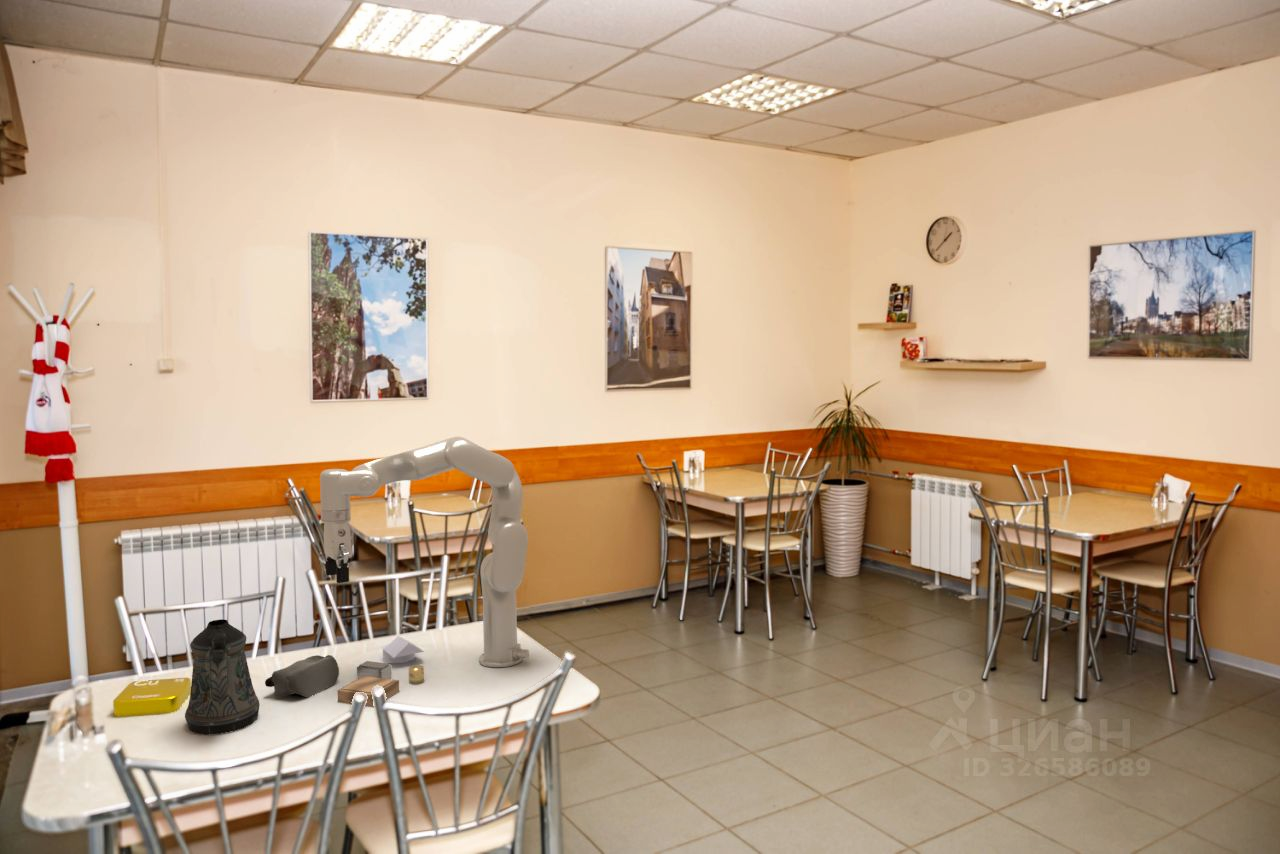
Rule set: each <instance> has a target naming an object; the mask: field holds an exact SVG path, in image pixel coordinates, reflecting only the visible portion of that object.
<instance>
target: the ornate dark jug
mask: <svg viewBox="0 0 1280 854" xmlns="http://www.w3.org/2000/svg"><path fill="white" fill-rule="evenodd" d="M246 642H247V636H246V634H245V633H244V632H243V631H241V630H240V629H239V628H236V627H235V626H233V625H231V624H230V623H229V621H228V619H215V620H210V621H208V623H207V626H206V628H204V629H203V630H202V631H201V632H200V633H198V634H197V635H196V636H195V637H194V638H193V639H192V640H191V642H190V644H189V646H190V650H191V652H192V654H193V663H192V673H191V694H190V696H189V701H188V704H187V709H186V710H185V713H184V719H185V722H186V723H187V726H188V727H187V728H188V731H189V730H190V731H189V732H191V731H192V733H193V732H194V733H193V734H196V733H197V735H203V734H204V736H207V735H208V736H209V734H210V736H212V735H222V734H221V733H223V734H226V733H225V732H228V733H231V732H230V731H233V732H236V731H238V729H239V730H242V729H244V727H245V728H247V727H248V725H249V726H251V725H252V724H254V723H255V722H256V721H257V720H258V716H259V711H260V706H261V705H260V699H259V697H258V696H257V694H256V692H255V689H254V686H253V682H252V678H251V674H250V669H249V665H248V661H247V660H248V659H247V655H246V652H245V646H246ZM256 719H257V720H256ZM255 720H256V721H255ZM254 721H255V722H254ZM253 722H254V723H253ZM246 726H247V727H246ZM235 730H236V731H235ZM211 734H212V735H211Z"/></svg>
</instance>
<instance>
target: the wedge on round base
mask: <svg viewBox="0 0 1280 854" xmlns="http://www.w3.org/2000/svg"><path fill="white" fill-rule="evenodd" d="M423 652H425V650H423V649H422V648H420V647H418V646H417V645H416V644H414V643H413V642H411V641H409V640H407V639H405V638H404V637H402V636H400V635H397V636H396V637H395V638H394V639H393V640H392V641H391V642H390V643H387V644H385V645H384V646H383V647H382V660H383V662H384V663H387V664H401V663H407V662H409V661H412V660H414V659H415V657H416V654H419V653H423Z"/></svg>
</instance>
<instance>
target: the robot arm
mask: <svg viewBox="0 0 1280 854" xmlns="http://www.w3.org/2000/svg"><path fill="white" fill-rule="evenodd" d="M452 470H457V471H459V472H462V473H463V474H465V475H468V476H470V477H471V478H473V479H476V480H478V481H481V482H483V483H485V484H487V485H489V486H490V489H491V492H492V493H491V494H492V499H491V501H492V502H491V503H492V504H491V511H490V519H489V525H488V530H487V535H488V536H487V537H488V540H489V542H490V543H491V544H492V545H493V549H492V552H490V553H488V554H487V555H486V556H485V557H484V558H483V560H482V561H481V565H480V582H481V590H482V592H481V593H482V594H481V595H482V620H483V621H482V623H483V626H482V627H483V631H482V632H483V653H481V654H480V655H479V657H478V663H479V664H480V665H482V666H484V667H489V668H505V667H512V666H515V665H518V664H519V663H521V662H522V661H523V660H524V659H526V660H527V659H529V657H530V651H529V649H525V648H524V649H523V648H521V645H522V644H521V643H518V623H517V621H518V618H517V615H518V614H517V593H516V592H517V589H518V588H519V587H520V585H521V584H522V581H523V578H524V574H525V567H526V562H527V554H528V545H529V537H528V536H529V535H528V532H527V529H526V527H525V526H524V524H523V523H521V521H522V519H521V518H522V511H523V510H522V508H523V500H524V499H523V497H524V493H523V486H522V482H521V478H520V476H519V474H518V472H517V470H516V469H515V466H514V464H513V463H512V461H511V460H509V458H506V457H504V456H502V455H501V454H499V453H497V452H493V451H491V450H489V449H486V448H484V447H482V446H480V445H478V444H477V443H475V442H473V441H471V440H468V439H467V438H465V437H461V436H454V437H450V438H445V439H443V440H441V441H437V442H434V443H430V444H428V445H425V446H421V447H418V448H415V449H411V450H407V451H403V452H399V453H397V454H393V455H389V456H385V457H381V458H379V459H375V460H372V461H368V462H365V463H363V464H360V465H357V466H355V467H354V468H352V469H351V470H346V469H345V468H344V469H343V468H330V469H329V468H328V469H324V470H322V471H321V473H320V475H319V481H320V482H319V485H320V487H319V488H320V489H319V490H320V522H321V523H322V524H323V550H324V554H325V558H324V559H325V575H326V576H327V577H329V576H335V579H336V581H335V582H336V583H337V584H343V583H349V582H350V563H349V562H350V560H349V559H351V558H352V557H353V549H352V536H351V535H352V534H351V526H350V522H351V519H352V518H351V515H352V514H351V497H357V498H358V497H361V498H368V497H371V496H375V494H376V493H377V492H378V491H379V490H380V488H381V487H382V486H386V485H389V484H392V483H397V482H402V481H411V482H412V481H413V482H414V481H421V480H424V479H428V478H429V477H430V478H431V477H434V476H436V475H439V474H442V473H445V472H450V471H452Z"/></svg>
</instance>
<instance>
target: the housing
mask: <svg viewBox="0 0 1280 854" xmlns="http://www.w3.org/2000/svg"><path fill="white" fill-rule="evenodd" d="M362 676H369V677H377V678H385V679H392V676H393V675H392V664H390V663H388V662H378V661H371V660H366V661H364V662H362V663H360V664H359V665H357V666H356V680H357V679H359V678H360V677H362Z"/></svg>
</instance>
